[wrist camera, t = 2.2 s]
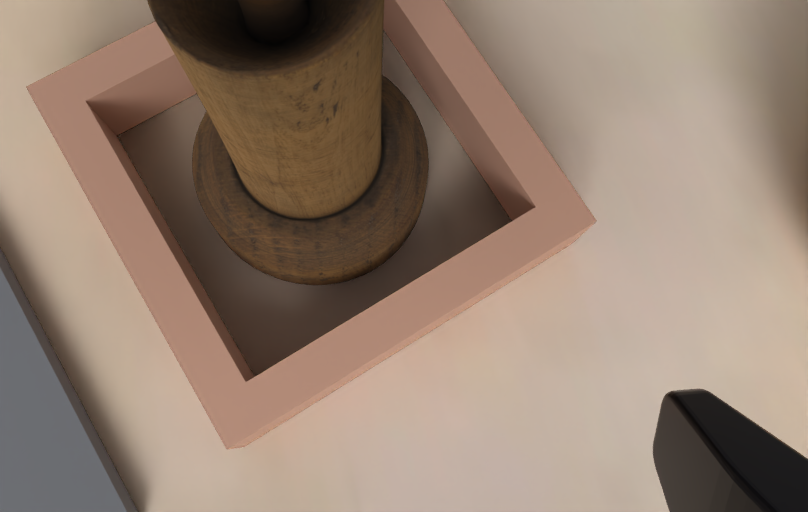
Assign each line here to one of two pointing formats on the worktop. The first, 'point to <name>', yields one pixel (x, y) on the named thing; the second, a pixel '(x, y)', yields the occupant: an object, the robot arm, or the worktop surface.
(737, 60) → the worktop surface
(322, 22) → the mortar and pestle
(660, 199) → the worktop surface
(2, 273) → the mat
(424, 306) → the tray
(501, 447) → the worktop surface
